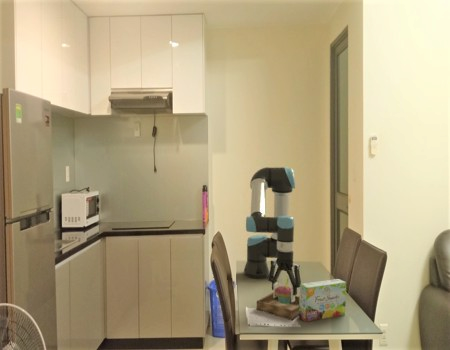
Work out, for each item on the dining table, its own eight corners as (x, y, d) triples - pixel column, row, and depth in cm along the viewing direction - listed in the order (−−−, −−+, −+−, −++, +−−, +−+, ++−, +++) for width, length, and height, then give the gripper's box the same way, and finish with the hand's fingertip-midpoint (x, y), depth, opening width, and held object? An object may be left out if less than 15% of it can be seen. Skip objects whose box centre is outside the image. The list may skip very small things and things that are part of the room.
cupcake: (296, 302, 173) (297, 276, 172) (286, 307, 167) (286, 280, 166) (281, 297, 179) (281, 272, 178) (270, 302, 172) (271, 276, 172)
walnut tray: (256, 309, 171) (256, 301, 171) (276, 298, 185) (276, 290, 185) (292, 320, 160) (292, 310, 160) (310, 307, 174) (310, 299, 174)
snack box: (306, 322, 158) (306, 287, 157) (298, 317, 163) (299, 283, 162) (346, 315, 166) (346, 281, 166) (337, 310, 171) (338, 277, 171)
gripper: (260, 248, 175) (260, 296, 176) (302, 255, 162) (301, 307, 163) (269, 245, 181) (268, 292, 182) (310, 252, 168) (309, 302, 169)
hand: (284, 299), depth 172 cm, fingers closed on cupcake, 8 cm apart
